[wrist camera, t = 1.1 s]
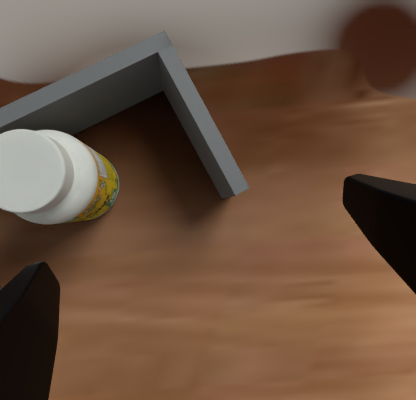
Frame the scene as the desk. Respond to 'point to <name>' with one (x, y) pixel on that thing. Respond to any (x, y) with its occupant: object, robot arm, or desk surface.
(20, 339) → the robot arm
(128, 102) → the open side box
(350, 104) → the desk surface
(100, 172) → the supplement bottle
